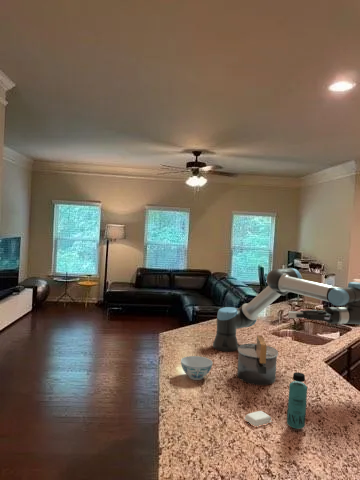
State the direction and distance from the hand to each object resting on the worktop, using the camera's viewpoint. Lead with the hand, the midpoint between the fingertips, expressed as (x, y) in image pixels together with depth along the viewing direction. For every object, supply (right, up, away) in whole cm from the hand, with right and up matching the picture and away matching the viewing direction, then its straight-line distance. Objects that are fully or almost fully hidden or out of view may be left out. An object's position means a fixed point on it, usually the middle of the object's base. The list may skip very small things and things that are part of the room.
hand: (288, 314), depth 175 cm
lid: (-13, -20, +5) cm, 24 cm away
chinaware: (-42, -31, +6) cm, 53 cm away
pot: (-13, -32, +7) cm, 35 cm away
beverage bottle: (-8, -34, -37) cm, 51 cm away
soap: (-21, -34, -33) cm, 52 cm away
